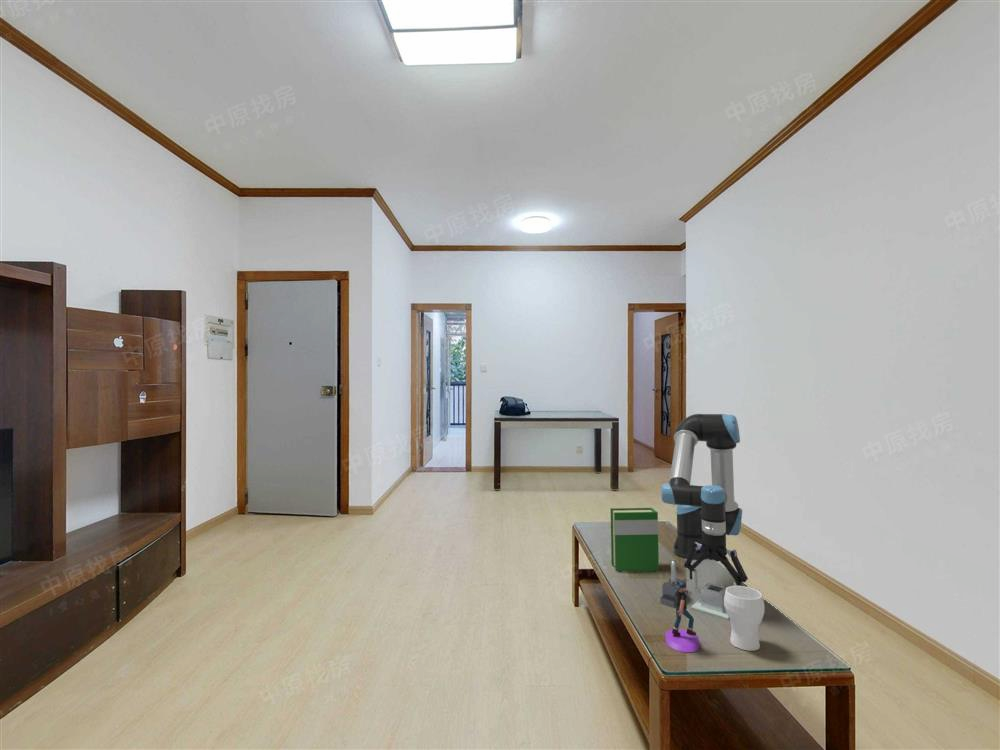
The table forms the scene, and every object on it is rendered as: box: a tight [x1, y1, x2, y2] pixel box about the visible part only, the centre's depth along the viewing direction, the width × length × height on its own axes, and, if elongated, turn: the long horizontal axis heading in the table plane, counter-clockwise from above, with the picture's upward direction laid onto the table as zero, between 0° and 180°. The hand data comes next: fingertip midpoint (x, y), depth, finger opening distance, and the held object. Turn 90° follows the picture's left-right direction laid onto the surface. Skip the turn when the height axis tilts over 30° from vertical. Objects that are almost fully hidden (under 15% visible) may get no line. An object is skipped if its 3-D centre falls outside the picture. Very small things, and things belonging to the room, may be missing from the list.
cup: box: [724, 585, 765, 652], centre depth 142 cm, size 11×11×15 cm
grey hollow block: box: [700, 582, 728, 613], centre depth 164 cm, size 7×7×6 cm
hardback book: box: [610, 507, 660, 572], centre depth 201 cm, size 18×7×24 cm, turn 90°
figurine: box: [665, 582, 700, 653], centre depth 142 cm, size 9×9×18 cm
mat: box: [690, 598, 730, 621], centre depth 164 cm, size 12×12×1 cm
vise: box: [659, 559, 689, 608], centre depth 172 cm, size 16×5×14 cm, turn 137°
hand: (715, 595), depth 164 cm, fingers open, 13 cm apart
